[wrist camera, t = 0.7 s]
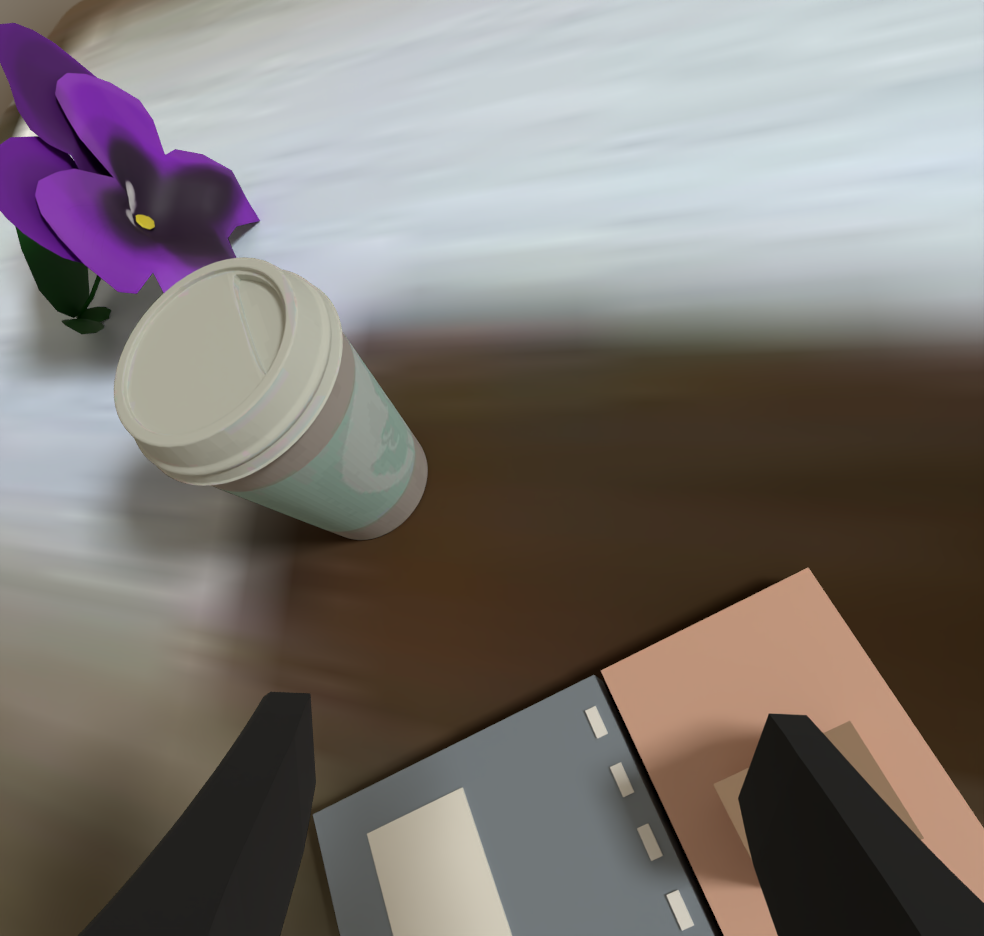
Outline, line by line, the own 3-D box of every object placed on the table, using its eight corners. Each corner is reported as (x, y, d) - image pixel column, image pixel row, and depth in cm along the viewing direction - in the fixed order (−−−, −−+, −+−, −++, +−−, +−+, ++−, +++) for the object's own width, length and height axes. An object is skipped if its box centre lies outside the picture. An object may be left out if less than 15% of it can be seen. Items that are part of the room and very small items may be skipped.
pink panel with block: (1083, 993, 20) (1173, 1050, 15) (809, 1102, 21) (815, 1186, 16) (807, 579, 26) (811, 529, 22) (609, 677, 28) (572, 649, 23)
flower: (182, 441, 48) (282, 326, 40) (-107, 373, 39) (-54, 203, 30) (190, 273, 55) (277, 145, 47) (-54, 180, 45) (1, -2, 37)
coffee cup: (439, 572, 32) (274, 460, 22) (277, 565, 35) (66, 464, 25) (468, 398, 35) (336, 228, 25) (317, 406, 38) (145, 258, 28)
